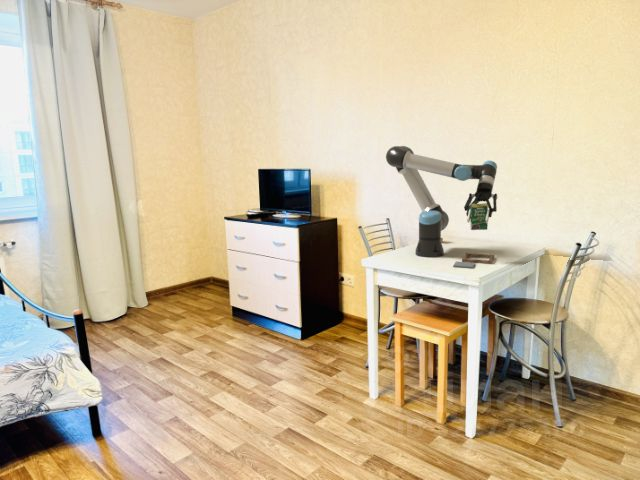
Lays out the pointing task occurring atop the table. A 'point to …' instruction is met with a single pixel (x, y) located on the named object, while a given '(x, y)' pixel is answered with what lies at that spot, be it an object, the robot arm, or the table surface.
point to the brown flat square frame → (477, 259)
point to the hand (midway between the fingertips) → (477, 221)
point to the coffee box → (478, 216)
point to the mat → (464, 264)
